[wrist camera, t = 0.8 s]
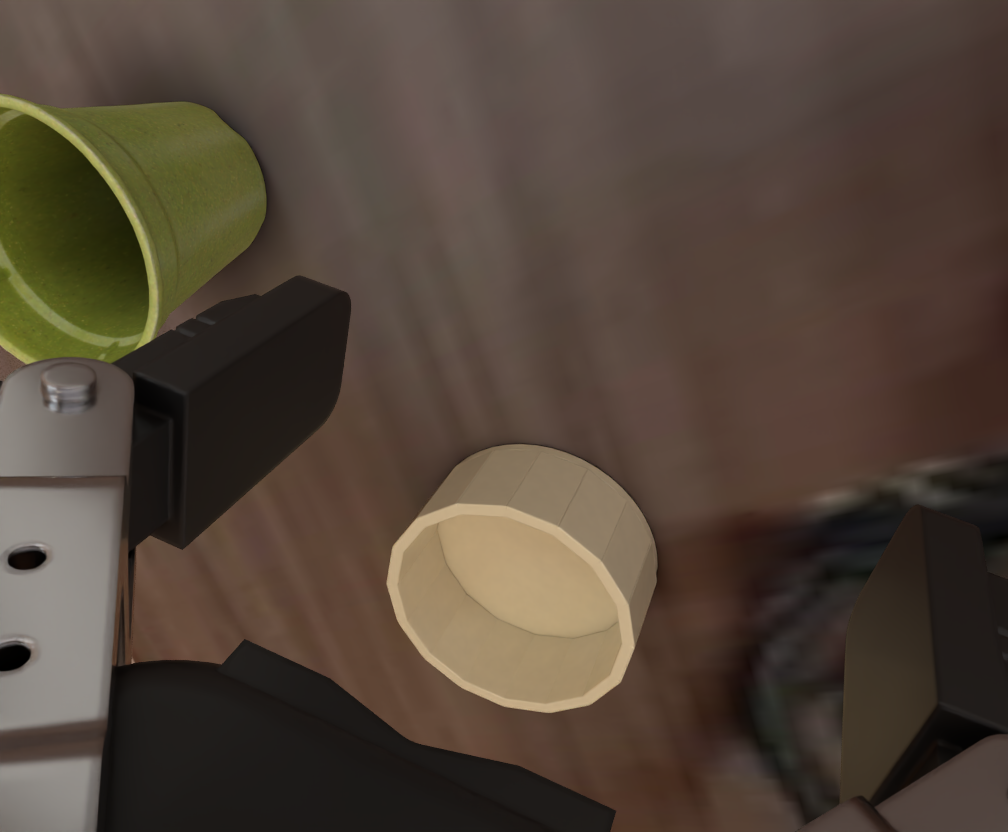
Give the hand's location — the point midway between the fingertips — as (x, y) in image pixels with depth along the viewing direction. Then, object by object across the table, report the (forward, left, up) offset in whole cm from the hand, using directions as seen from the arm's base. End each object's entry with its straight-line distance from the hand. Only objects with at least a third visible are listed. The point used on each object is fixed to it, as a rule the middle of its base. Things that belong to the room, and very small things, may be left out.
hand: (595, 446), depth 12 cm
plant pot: (+7, -20, -19) cm, 28 cm away
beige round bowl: (+18, -3, -19) cm, 26 cm away
